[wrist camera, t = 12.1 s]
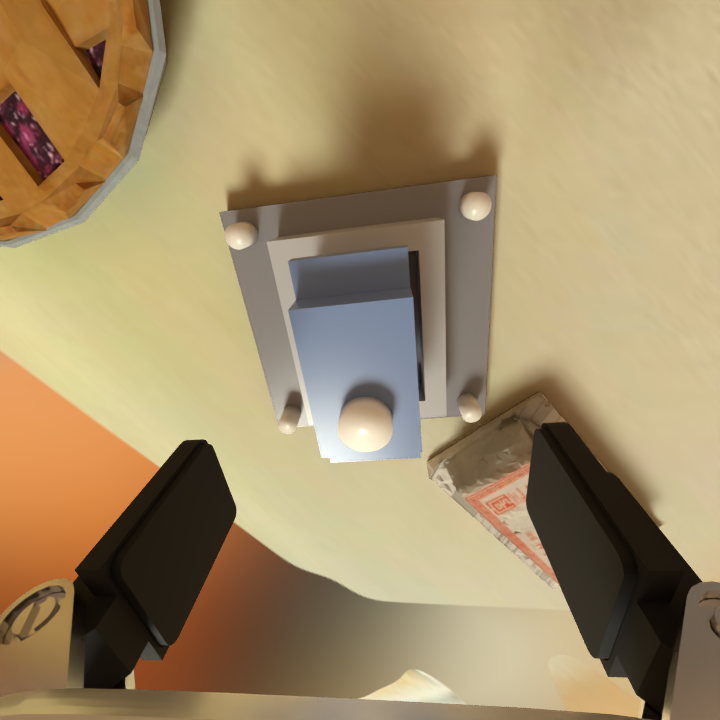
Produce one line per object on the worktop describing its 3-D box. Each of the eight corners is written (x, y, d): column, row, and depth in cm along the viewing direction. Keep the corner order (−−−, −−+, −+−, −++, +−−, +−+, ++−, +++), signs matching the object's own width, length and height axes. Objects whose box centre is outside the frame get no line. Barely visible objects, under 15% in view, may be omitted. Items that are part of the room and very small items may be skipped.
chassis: (490, 175, 17) (510, 172, 14) (480, 406, 23) (493, 434, 21) (227, 211, 19) (201, 214, 16) (283, 419, 25) (271, 447, 22)
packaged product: (428, 511, 22) (572, 430, 19) (420, 459, 26) (536, 384, 23) (570, 632, 27) (704, 586, 24) (544, 571, 31) (654, 525, 28)
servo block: (399, 230, 18) (412, 257, 10) (411, 393, 22) (425, 491, 15) (315, 240, 18) (271, 273, 11) (342, 398, 22) (324, 496, 15)
